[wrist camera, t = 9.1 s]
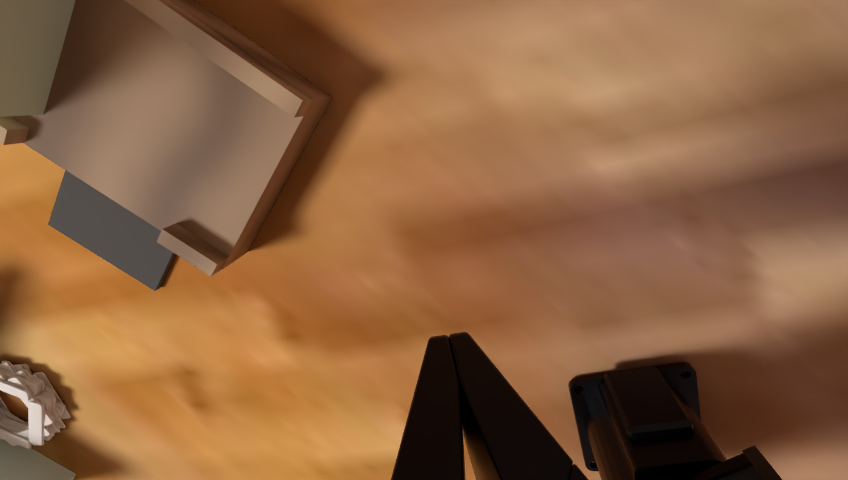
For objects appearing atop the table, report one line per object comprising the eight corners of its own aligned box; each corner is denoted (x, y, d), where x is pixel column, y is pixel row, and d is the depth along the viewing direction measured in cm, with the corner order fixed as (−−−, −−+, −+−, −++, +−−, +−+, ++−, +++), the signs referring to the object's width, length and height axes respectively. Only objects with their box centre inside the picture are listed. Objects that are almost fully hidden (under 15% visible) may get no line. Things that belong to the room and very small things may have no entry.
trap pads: (324, -63, 18) (321, -66, 18) (159, 287, 25) (155, 290, 25) (73, -250, 17) (64, -257, 16) (-24, 173, 24) (-32, 174, 24)
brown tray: (332, 97, 20) (293, 98, 16) (247, 252, 24) (197, 286, 19) (-32, -159, 18) (-183, -232, 14) (-66, 49, 22) (-197, 39, 18)
